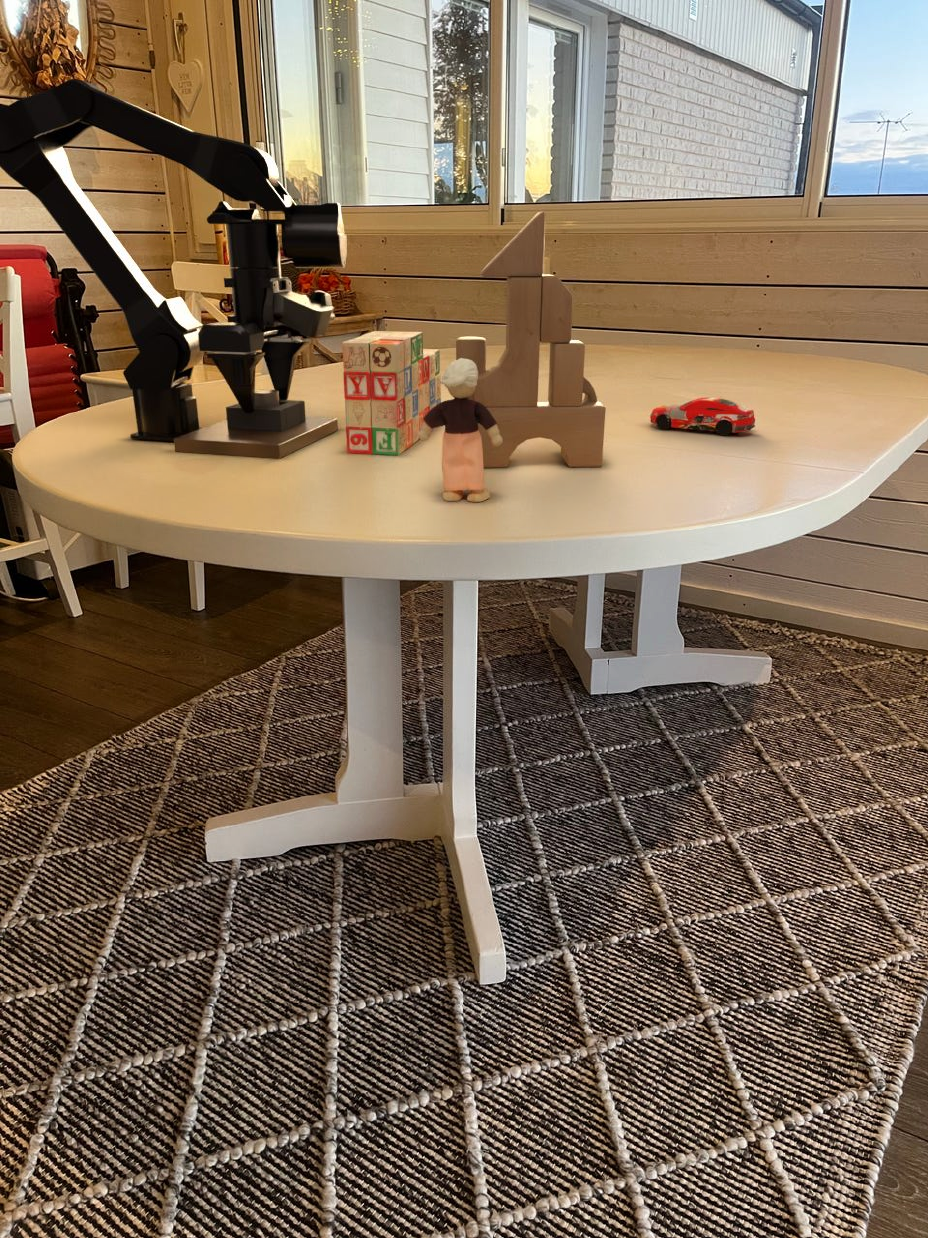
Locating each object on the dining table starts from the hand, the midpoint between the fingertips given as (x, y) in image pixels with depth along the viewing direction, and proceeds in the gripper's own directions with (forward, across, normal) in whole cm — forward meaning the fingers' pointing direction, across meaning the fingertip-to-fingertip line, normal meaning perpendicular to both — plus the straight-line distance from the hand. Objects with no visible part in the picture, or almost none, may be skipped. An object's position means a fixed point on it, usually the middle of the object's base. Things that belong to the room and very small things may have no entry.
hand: (266, 406), depth 110 cm
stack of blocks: (+4, +5, -15) cm, 16 cm away
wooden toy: (+4, -4, -33) cm, 33 cm away
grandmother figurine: (+4, -21, -30) cm, 37 cm away
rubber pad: (+2, 0, 0) cm, 2 cm away
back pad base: (+4, -2, 0) cm, 4 cm away
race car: (+4, +20, -51) cm, 55 cm away
